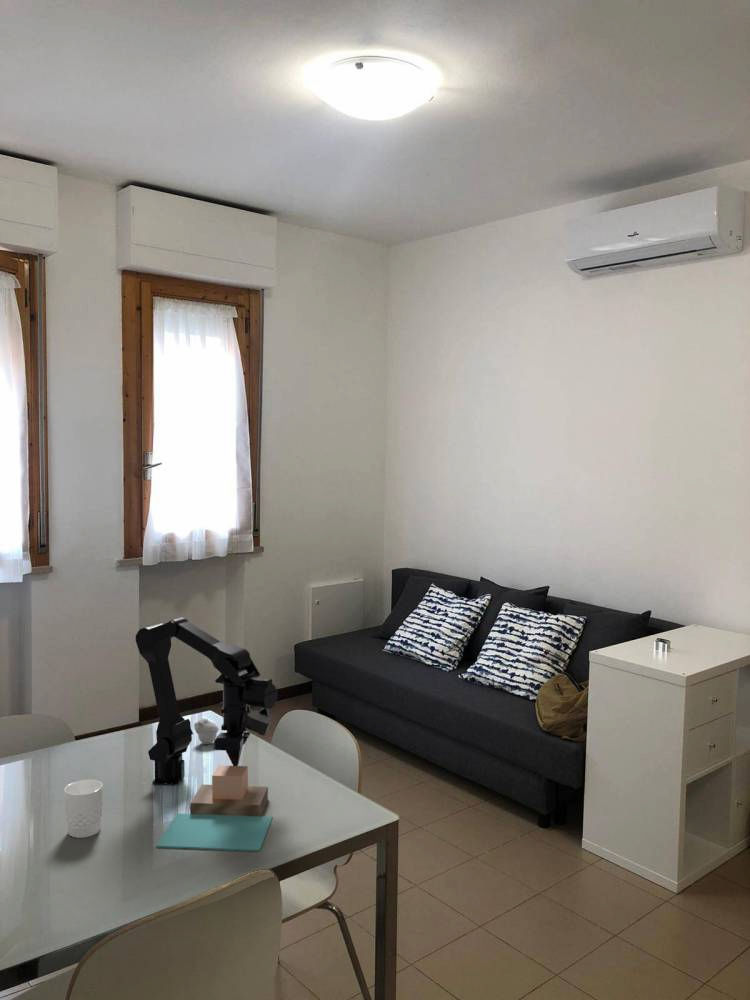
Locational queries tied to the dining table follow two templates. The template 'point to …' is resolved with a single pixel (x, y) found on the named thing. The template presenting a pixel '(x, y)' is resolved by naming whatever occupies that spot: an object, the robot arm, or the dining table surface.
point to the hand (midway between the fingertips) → (235, 765)
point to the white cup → (84, 807)
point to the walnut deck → (229, 802)
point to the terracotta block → (230, 782)
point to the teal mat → (216, 832)
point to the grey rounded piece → (206, 730)
